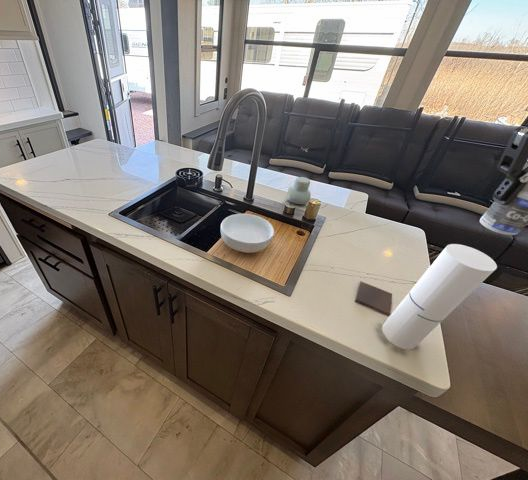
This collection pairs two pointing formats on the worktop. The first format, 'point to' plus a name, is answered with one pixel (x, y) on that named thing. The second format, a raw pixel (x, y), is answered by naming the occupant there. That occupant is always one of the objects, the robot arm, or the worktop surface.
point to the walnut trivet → (374, 298)
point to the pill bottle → (508, 215)
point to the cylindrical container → (437, 294)
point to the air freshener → (299, 191)
